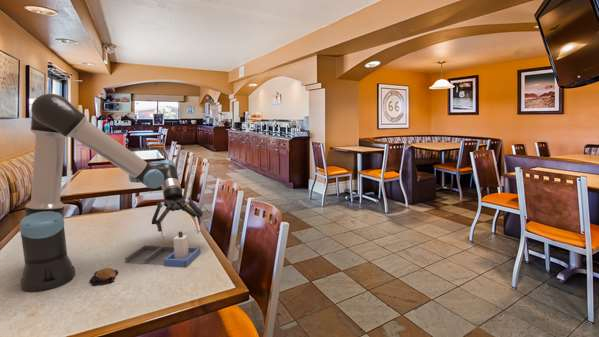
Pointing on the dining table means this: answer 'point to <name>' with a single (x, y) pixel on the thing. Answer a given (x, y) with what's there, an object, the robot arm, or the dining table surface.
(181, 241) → the cream block with knob
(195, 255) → the gray divided tray
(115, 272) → the bun on dark wrapper
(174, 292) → the dining table surface
